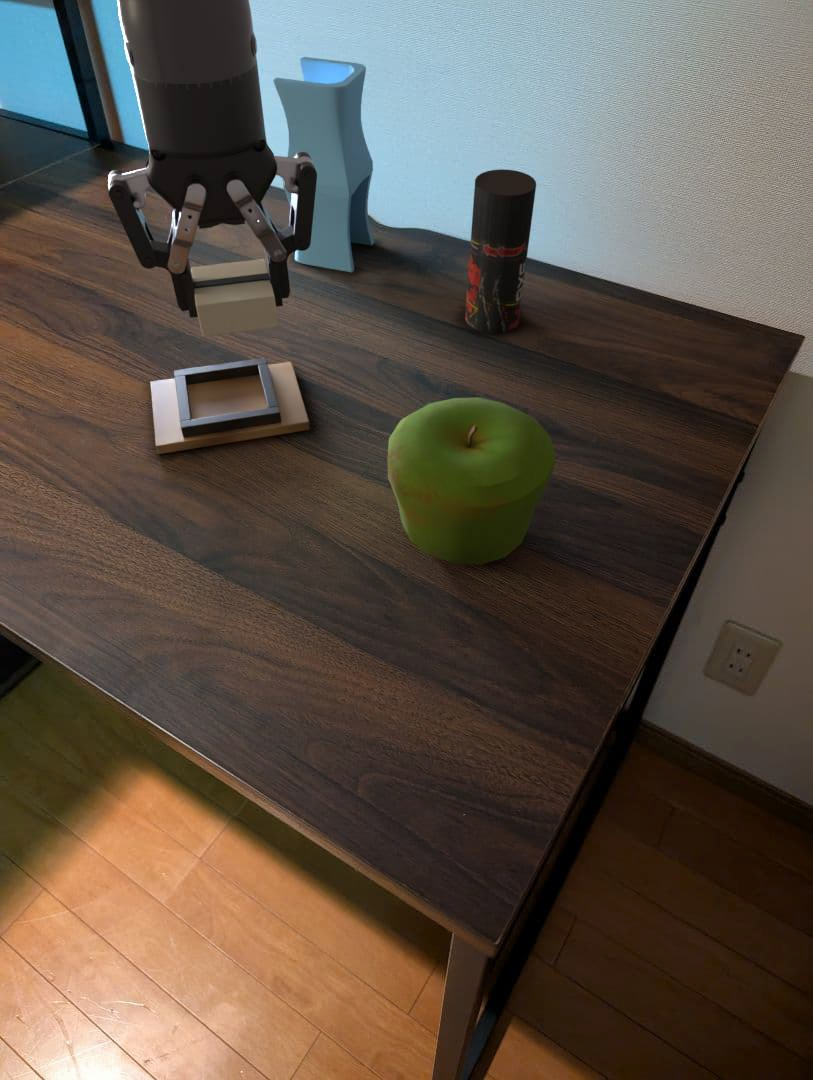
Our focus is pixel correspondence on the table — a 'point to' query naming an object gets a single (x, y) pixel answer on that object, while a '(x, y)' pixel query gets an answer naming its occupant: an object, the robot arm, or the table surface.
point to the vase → (331, 156)
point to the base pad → (226, 405)
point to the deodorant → (498, 249)
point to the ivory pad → (234, 297)
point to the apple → (468, 477)
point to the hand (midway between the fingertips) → (235, 305)
